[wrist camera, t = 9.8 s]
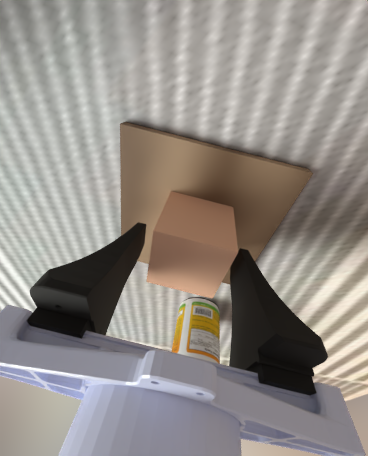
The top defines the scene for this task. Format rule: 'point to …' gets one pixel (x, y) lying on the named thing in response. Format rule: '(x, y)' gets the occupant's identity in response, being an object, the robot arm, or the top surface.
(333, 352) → the top surface
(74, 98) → the top surface
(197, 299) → the supplement bottle
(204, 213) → the terracotta block
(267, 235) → the walnut board
